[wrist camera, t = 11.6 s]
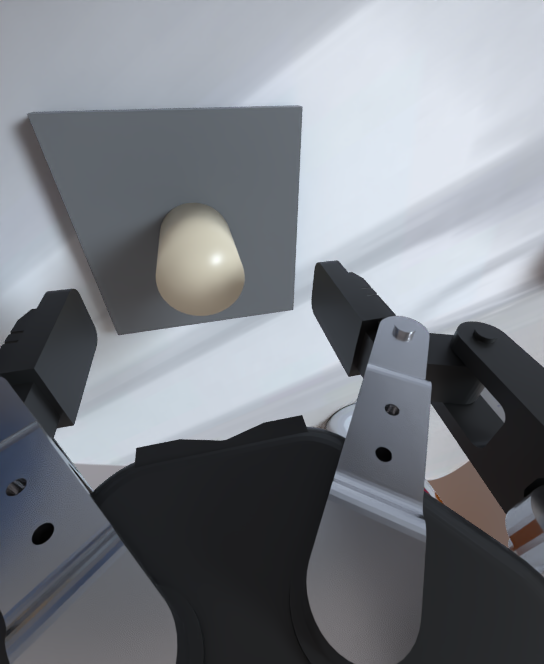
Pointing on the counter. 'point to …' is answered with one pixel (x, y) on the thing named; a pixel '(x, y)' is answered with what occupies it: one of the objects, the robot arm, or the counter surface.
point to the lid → (181, 208)
